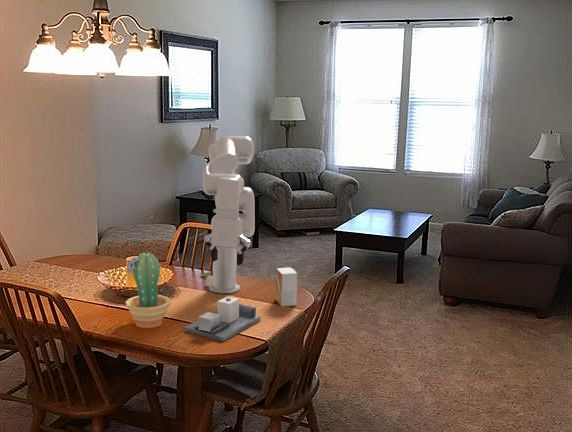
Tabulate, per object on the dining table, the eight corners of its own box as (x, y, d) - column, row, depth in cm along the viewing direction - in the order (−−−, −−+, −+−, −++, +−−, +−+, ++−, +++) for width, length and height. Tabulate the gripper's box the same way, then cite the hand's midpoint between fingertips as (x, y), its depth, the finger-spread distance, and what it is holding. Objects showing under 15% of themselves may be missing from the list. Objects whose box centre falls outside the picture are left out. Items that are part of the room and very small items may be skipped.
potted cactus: (142, 312, 228) (141, 246, 223) (179, 319, 223) (179, 251, 218) (116, 327, 214) (114, 256, 209) (155, 334, 209) (154, 262, 204)
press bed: (184, 331, 212) (184, 318, 211) (223, 311, 232) (223, 300, 231) (223, 341, 204) (223, 328, 204) (260, 320, 224) (260, 308, 223)
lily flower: (223, 272, 282) (224, 263, 281) (228, 281, 271) (228, 270, 270) (197, 273, 279) (197, 264, 278) (200, 282, 267) (200, 271, 267)
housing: (217, 320, 219) (217, 299, 218) (227, 315, 224) (227, 294, 223) (229, 323, 217) (229, 302, 215) (238, 317, 222) (239, 297, 220)
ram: (198, 329, 210) (198, 316, 209) (212, 321, 216) (212, 309, 215) (210, 332, 207) (210, 319, 206) (224, 324, 214) (224, 312, 213)
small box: (275, 299, 247) (275, 268, 244) (290, 298, 249) (291, 267, 246) (280, 306, 239) (281, 273, 237) (296, 305, 241) (297, 272, 238)
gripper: (199, 213, 211) (199, 261, 215) (245, 218, 205) (245, 268, 208) (210, 209, 218) (210, 257, 222) (255, 214, 212) (254, 263, 215)
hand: (227, 262), depth 215 cm, fingers open, 9 cm apart
